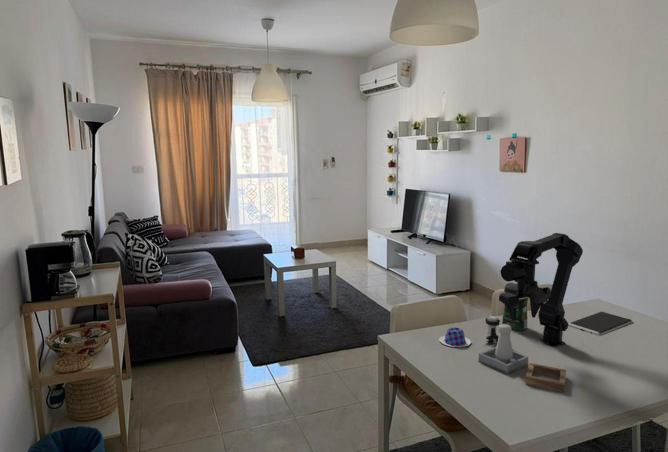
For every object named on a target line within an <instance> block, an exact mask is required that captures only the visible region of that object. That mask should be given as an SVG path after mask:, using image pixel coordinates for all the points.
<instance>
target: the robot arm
mask: <svg viewBox="0 0 668 452" xmlns="http://www.w3.org/2000/svg"><path fill="white" fill-rule="evenodd" d="M552 249H554V250H555V257H556V261H557V267H556V271H555V275H554V278H553V282H552V286H551V288H550V287H548V286H546V287H539V285H538V284H539V283H538V281H537V280H535V279H536V278H535V276H536V265H539V264H540V261H539V260H537V259H539V258H540V257H542V254H543V253H544V252H548V251H549V250H552ZM583 251H584V250H583V248H582V246H581V245H580V244H579V243H578V242H576V241H575V240H573V239H572V238H571V237H570V236H569V235H567V234H566V233H559V232H555V233H552V234H551V235H547V236H545V237H541V238H539V239H536V240H523V241H519V242H517V244H516V246H515V248H514V250H513V251H512V253H511V255H510V257H509V258H508V259H509V260H508V261H506V262H505V264H504V265H503V266H502V267H501V269H500V270H499V272H500V276H501V278H502V279H503V280H504V281H506V282H507V283H508V282H509V283H510V282H513V281H514V282H515V283H516V284H517V289H516V290H514V293H517V295H514V294H512V293H509V292H507V293H504V292H503V293H502V292H501V293H500V294H499V295H498V301H499V302H501V303H502V304H504V307H505V306H506V308H507V310H508V312H509V314H510V317H511V319H512V321H515V318H516V308H517V307H518V306H519V305H518V303H519V300H521V299H527V298H528V299H529V305H530V313H531V317H532V318H533V319H534V318H536V316H538V321H539V325H540V326H543V331H542V334H543V335H542V338H540V339H539V341H540V342H543V343H545V344H547V345H549V346H551V347H557V346H561V345H565V344H566V342H565V341H563V333H564V332H566V331H567V330H568V327H569V326H568V325H569V324H568V323H569V322H568V321H567V320H566V318H565V313H566V312H565V309H564V305H563V302H564V299H565V295H566V292H567V288H568V284H569V281H570V277H571V274H572V269H573V268H574V267H575V266H576V265H577V264H578V263H579V262H580V259H581V257H582V255H583ZM521 296H522V297H521ZM537 314H538V315H537Z"/></svg>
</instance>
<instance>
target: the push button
mask: <svg viewBox="0 0 668 452" xmlns="http://www.w3.org/2000/svg"><path fill="white" fill-rule="evenodd" d="M500 323H501V320H500V319H499V317H497V316H496V315H489V316H487V317H486V318H485V324H486V325H488V329H487V330H488V331H487V335H486V336H485V339H484V340H483V341H484V344H488V345H491V344H497V343H498V339H499V334H497V326H498V327H499V325H500Z"/></svg>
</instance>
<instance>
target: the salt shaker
mask: <svg viewBox="0 0 668 452" xmlns="http://www.w3.org/2000/svg"><path fill="white" fill-rule="evenodd" d="M512 330H513V329H512V328H511V326H510V325H507V324H501V323H500V324H499V325H498V332H499V334H498V336H499V337H498V342H496V346H495V347H496V351H495V356H496V358H497V360H498V361H501V362H503V363H509V362H510V360H511V359H512V356H513V354H512V351H513V348H512V347H513V346H512V341H511V333H512V332H513V331H512Z"/></svg>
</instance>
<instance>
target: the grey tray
mask: <svg viewBox="0 0 668 452" xmlns="http://www.w3.org/2000/svg"><path fill="white" fill-rule="evenodd" d="M496 347H497V346H495V347H492V348H490V349H486V350H484V351H482V352H480V353H478V362H479V363H480V364H483V365H485V366H487V367H490V368H492V369H494V370H497V371H499V372H501V373H504V374H506V375H509V374H511V373H513V372H515V371H518V370H520V369H522V368H525V367H526V366H529V356H527V355H525V354H522V353H520V352H517V351H515V350H512V354H513V356H512V359H511V360H510V362H509V363H503V362H501V361H498V360H497V358H496V356H495V351H496Z"/></svg>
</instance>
